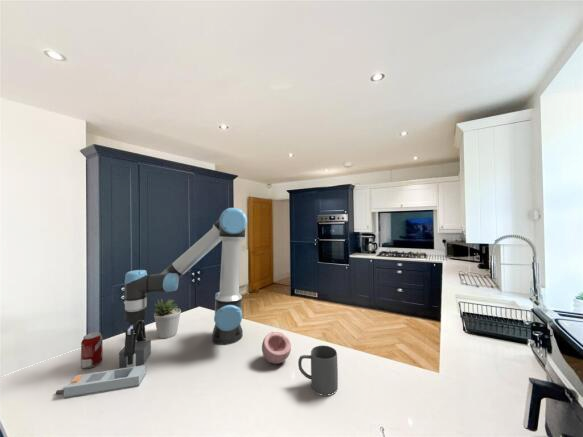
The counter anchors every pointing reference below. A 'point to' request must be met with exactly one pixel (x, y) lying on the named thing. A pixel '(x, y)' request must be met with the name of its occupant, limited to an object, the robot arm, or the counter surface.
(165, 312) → the potted plant
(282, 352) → the pink round pot
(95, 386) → the socket strip
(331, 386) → the mug
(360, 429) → the counter surface
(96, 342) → the soda can
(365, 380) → the counter surface
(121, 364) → the plug
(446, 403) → the counter surface
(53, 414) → the counter surface
